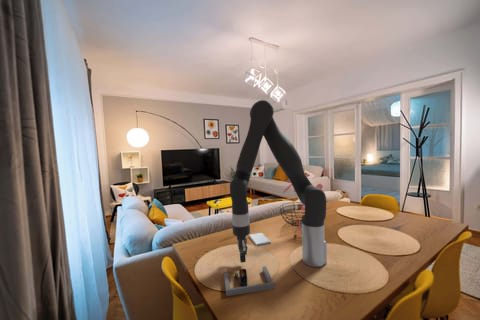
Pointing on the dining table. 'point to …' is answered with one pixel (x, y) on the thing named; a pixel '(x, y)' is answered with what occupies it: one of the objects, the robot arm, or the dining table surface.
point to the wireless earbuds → (242, 277)
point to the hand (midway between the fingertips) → (242, 261)
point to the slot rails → (249, 288)
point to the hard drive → (259, 239)
